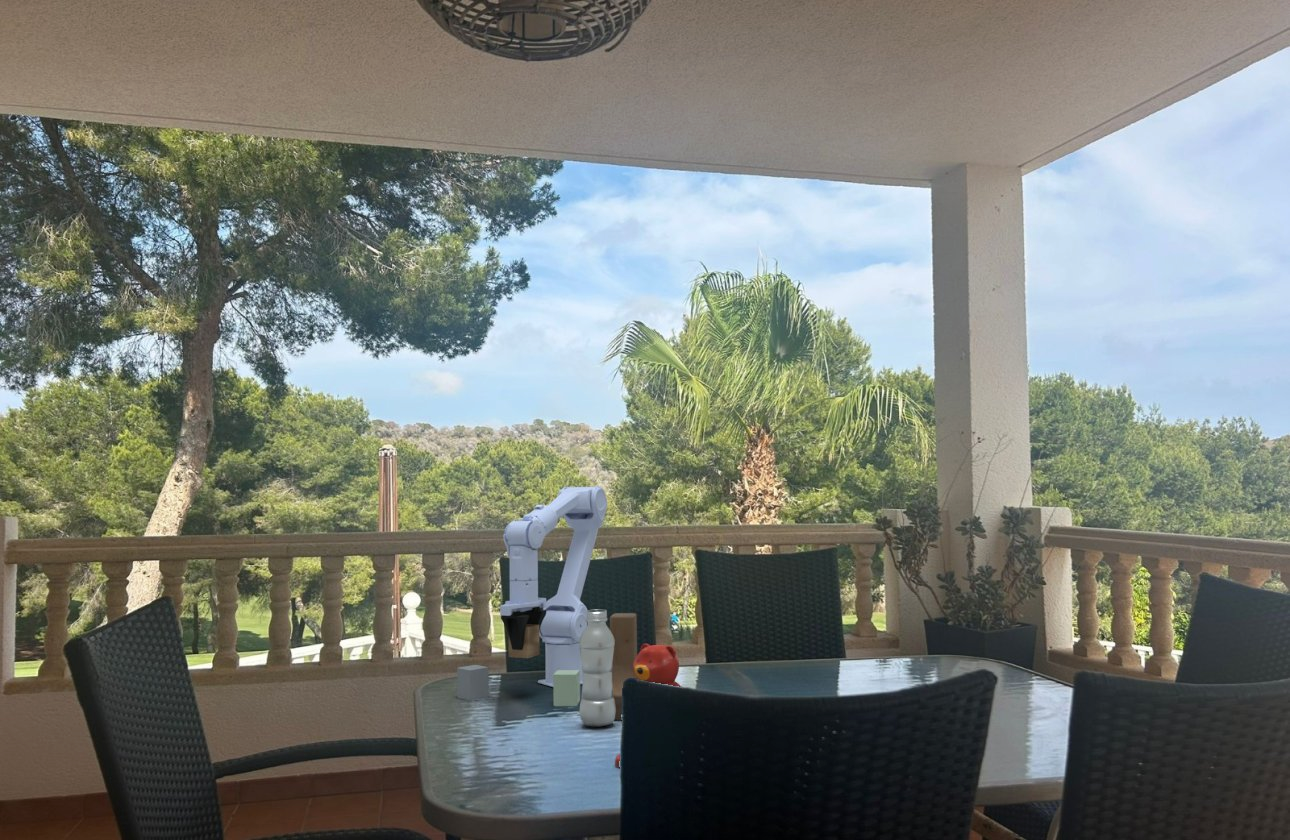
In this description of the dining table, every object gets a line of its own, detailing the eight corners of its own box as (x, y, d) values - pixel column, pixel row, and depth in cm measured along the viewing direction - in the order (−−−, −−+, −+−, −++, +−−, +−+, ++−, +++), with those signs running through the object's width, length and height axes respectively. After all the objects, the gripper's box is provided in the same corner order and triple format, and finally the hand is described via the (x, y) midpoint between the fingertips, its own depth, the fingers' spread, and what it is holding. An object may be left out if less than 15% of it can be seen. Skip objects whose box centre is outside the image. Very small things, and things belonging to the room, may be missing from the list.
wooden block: (631, 721, 167) (630, 619, 169) (606, 720, 168) (605, 619, 169) (638, 709, 176) (636, 612, 178) (614, 709, 177) (613, 612, 178)
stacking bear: (608, 765, 140) (607, 645, 141) (656, 752, 147) (654, 637, 148) (660, 780, 132) (657, 653, 134) (707, 765, 139) (705, 644, 141)
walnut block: (520, 653, 192) (520, 623, 192) (539, 654, 190) (539, 624, 191) (508, 657, 188) (508, 626, 188) (527, 658, 186) (527, 627, 186)
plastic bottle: (618, 721, 167) (617, 608, 169) (613, 730, 161) (612, 613, 162) (583, 721, 168) (581, 608, 170) (576, 730, 161) (575, 613, 163)
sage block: (557, 701, 185) (557, 670, 185) (580, 701, 185) (579, 670, 185) (553, 706, 180) (553, 674, 181) (576, 706, 180) (576, 674, 181)
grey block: (475, 694, 192) (475, 664, 193) (488, 697, 189) (488, 667, 190) (457, 697, 189) (457, 667, 190) (470, 701, 186) (470, 670, 187)
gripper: (525, 576, 198) (526, 641, 197) (487, 582, 185) (487, 652, 184) (554, 577, 196) (555, 642, 194) (517, 583, 182) (517, 654, 181)
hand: (524, 647), depth 189 cm, fingers closed on walnut block, 4 cm apart
